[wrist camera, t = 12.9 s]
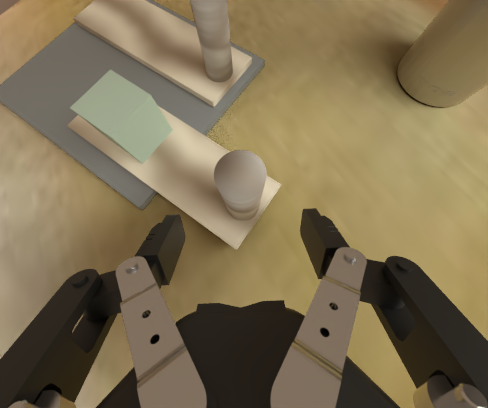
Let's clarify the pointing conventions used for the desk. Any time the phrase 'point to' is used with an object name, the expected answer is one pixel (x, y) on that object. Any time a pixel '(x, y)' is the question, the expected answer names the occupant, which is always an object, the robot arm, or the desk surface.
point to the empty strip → (172, 42)
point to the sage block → (124, 115)
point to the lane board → (88, 74)
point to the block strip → (198, 177)
